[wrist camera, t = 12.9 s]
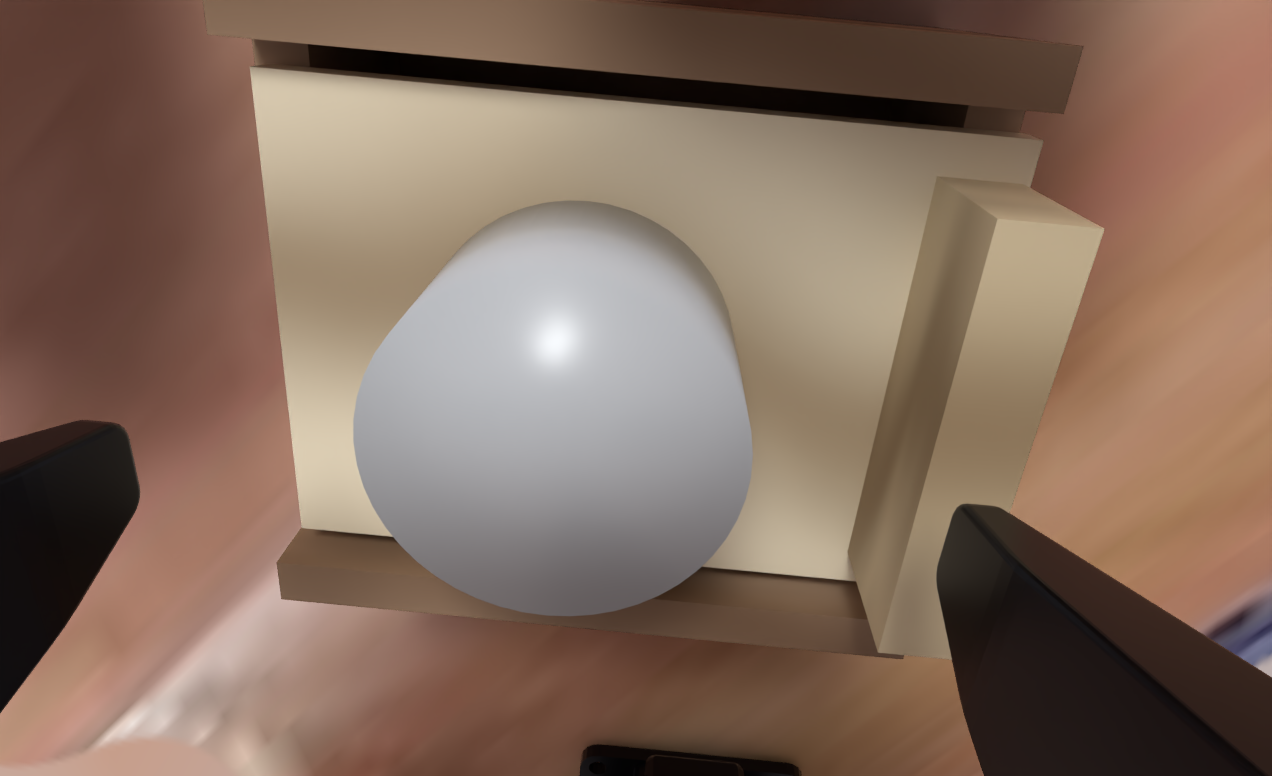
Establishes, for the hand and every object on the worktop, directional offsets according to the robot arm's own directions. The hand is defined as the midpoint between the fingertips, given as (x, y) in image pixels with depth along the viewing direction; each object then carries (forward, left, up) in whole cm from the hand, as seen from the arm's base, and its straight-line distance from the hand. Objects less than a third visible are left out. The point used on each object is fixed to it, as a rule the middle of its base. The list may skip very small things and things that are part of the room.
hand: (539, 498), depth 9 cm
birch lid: (0, -1, -5) cm, 5 cm away
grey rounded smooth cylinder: (0, 0, -4) cm, 4 cm away
